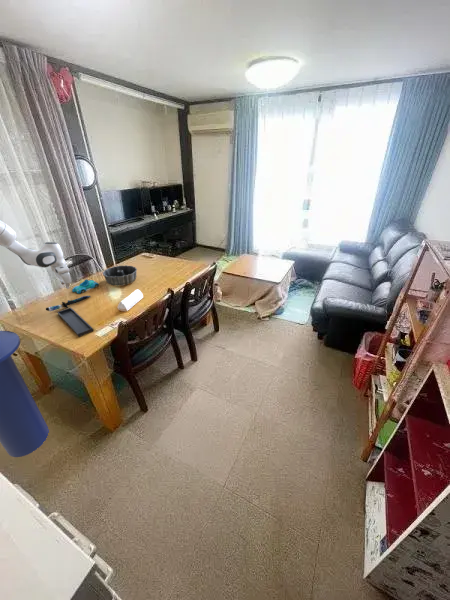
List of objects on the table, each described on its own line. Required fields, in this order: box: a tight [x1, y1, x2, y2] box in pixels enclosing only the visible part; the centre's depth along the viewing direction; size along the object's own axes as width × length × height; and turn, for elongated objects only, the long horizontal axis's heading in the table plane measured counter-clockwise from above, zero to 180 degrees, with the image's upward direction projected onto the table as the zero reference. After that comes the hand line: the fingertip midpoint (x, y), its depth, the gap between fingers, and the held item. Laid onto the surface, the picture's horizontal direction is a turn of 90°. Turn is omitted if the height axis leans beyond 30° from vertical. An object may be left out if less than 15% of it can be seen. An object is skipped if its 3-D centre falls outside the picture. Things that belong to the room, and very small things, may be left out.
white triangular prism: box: [116, 288, 144, 312], centre depth 178 cm, size 7×7×24 cm
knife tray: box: [57, 307, 94, 338], centre depth 158 cm, size 8×35×2 cm, turn 47°
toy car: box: [71, 279, 100, 295], centre depth 199 cm, size 11×18×7 cm, turn 151°
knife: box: [45, 295, 92, 312], centre depth 176 cm, size 31×3×4 cm, turn 145°
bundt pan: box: [102, 264, 138, 287], centre depth 210 cm, size 26×26×10 cm
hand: (65, 286), depth 170 cm, fingers open, 8 cm apart
